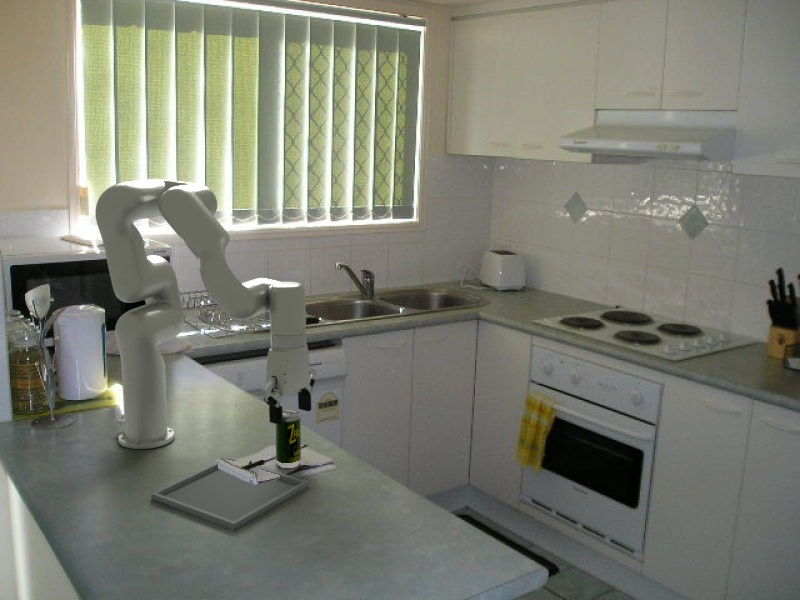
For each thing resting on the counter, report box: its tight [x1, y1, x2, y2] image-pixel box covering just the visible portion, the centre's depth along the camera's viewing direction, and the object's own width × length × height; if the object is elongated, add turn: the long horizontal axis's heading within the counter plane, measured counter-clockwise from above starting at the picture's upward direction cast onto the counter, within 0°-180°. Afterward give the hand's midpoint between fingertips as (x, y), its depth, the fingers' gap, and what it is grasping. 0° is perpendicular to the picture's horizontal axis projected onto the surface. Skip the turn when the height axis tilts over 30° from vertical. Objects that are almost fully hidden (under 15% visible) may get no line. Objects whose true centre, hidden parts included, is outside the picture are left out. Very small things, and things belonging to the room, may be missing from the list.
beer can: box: [275, 408, 302, 463], centre depth 181 cm, size 5×5×12 cm
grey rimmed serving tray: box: [150, 456, 309, 532], centre depth 167 cm, size 22×22×2 cm
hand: (290, 416), depth 180 cm, fingers open, 9 cm apart
